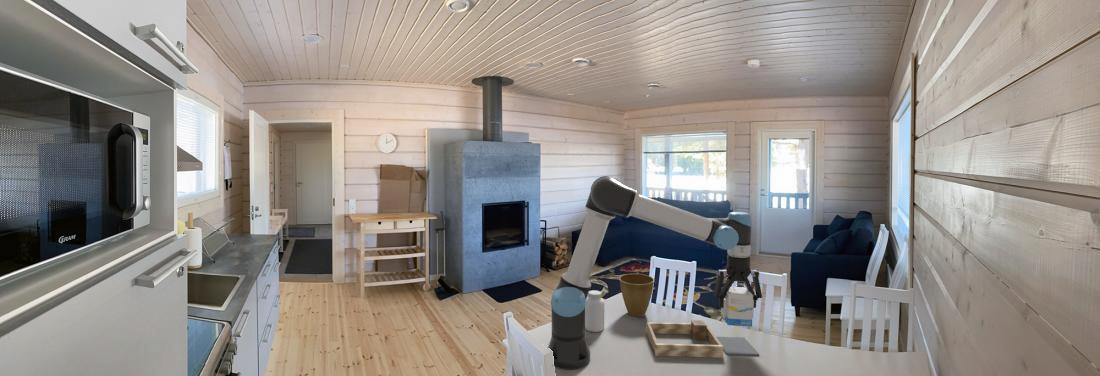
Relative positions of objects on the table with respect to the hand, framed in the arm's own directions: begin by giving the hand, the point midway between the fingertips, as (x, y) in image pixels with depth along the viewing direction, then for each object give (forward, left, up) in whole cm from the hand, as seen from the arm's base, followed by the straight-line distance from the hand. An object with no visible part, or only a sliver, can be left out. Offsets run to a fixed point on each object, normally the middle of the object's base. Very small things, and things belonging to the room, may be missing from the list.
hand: (737, 316), depth 148 cm
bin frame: (-19, +1, -12) cm, 22 cm away
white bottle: (-51, +13, -12) cm, 54 cm away
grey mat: (0, 0, -12) cm, 12 cm away
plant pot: (-32, +29, -12) cm, 45 cm away
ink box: (0, 0, -2) cm, 2 cm away
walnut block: (-12, +7, -12) cm, 18 cm away
